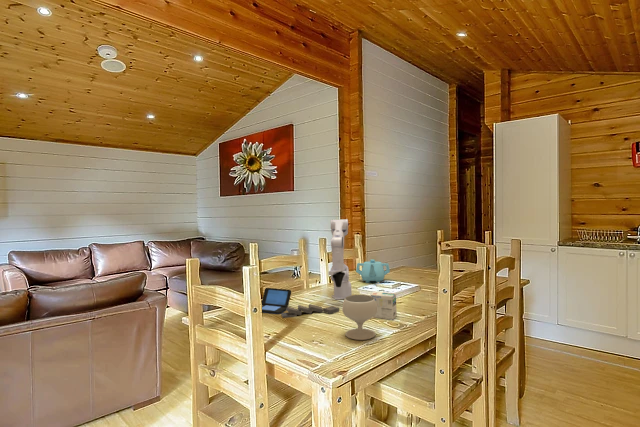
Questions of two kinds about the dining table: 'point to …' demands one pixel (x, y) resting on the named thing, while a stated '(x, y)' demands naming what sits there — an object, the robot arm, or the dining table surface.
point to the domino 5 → (331, 310)
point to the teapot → (372, 270)
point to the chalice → (359, 314)
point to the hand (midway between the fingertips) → (338, 286)
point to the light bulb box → (385, 304)
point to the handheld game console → (275, 300)
